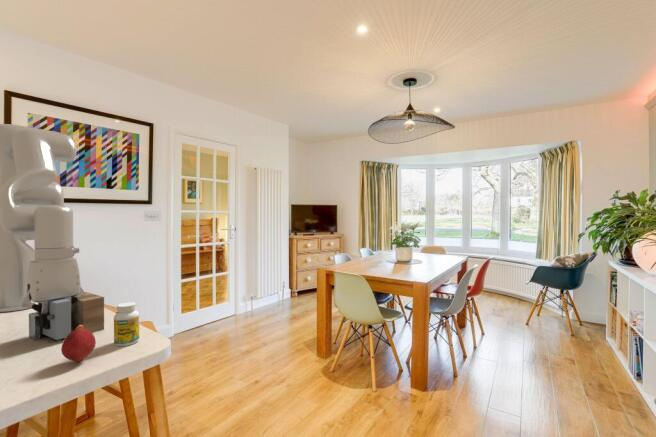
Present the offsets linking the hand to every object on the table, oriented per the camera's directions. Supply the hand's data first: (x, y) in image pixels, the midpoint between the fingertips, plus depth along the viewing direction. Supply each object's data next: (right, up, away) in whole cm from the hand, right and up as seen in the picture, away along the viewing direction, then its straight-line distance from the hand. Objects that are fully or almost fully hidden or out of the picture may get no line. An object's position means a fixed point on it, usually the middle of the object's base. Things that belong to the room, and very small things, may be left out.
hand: (54, 325), depth 82 cm
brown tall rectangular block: (+3, -3, +7) cm, 8 cm away
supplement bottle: (+20, -4, -2) cm, 20 cm away
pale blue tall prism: (0, -2, 0) cm, 2 cm away
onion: (+16, -4, -12) cm, 20 cm away
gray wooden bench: (-3, -3, +3) cm, 6 cm away
